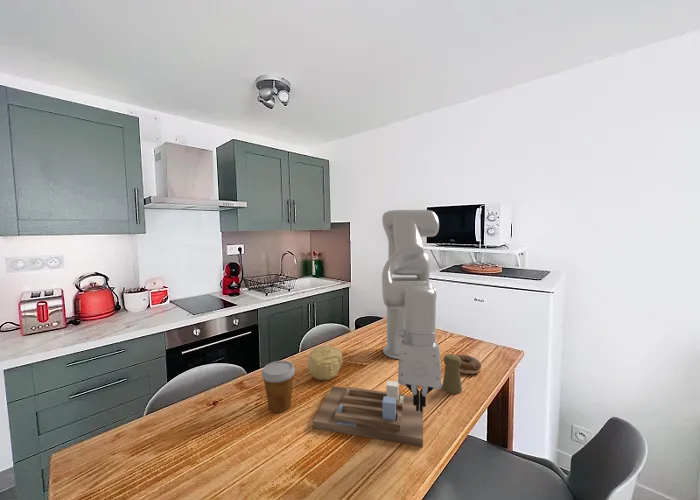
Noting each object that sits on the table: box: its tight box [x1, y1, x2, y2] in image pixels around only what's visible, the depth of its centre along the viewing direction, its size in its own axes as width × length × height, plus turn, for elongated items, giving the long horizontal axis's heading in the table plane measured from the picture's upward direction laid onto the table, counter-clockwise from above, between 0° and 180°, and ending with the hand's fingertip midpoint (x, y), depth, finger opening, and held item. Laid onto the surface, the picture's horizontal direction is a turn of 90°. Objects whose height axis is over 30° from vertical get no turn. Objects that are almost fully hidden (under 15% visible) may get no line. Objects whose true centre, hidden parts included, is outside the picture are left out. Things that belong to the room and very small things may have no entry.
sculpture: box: [307, 344, 343, 381], centre depth 103 cm, size 11×12×11 cm
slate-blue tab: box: [382, 396, 396, 421], centre depth 76 cm, size 3×3×6 cm
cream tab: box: [386, 380, 400, 402], centre depth 83 cm, size 3×3×6 cm
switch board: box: [312, 385, 424, 448], centre depth 81 cm, size 17×28×3 cm, turn 76°
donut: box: [456, 354, 482, 375], centre depth 107 cm, size 11×11×4 cm
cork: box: [441, 353, 463, 395], centre depth 94 cm, size 6×6×11 cm
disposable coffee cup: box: [261, 360, 296, 414], centre depth 85 cm, size 10×10×12 cm
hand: (419, 408), depth 73 cm, fingers closed
